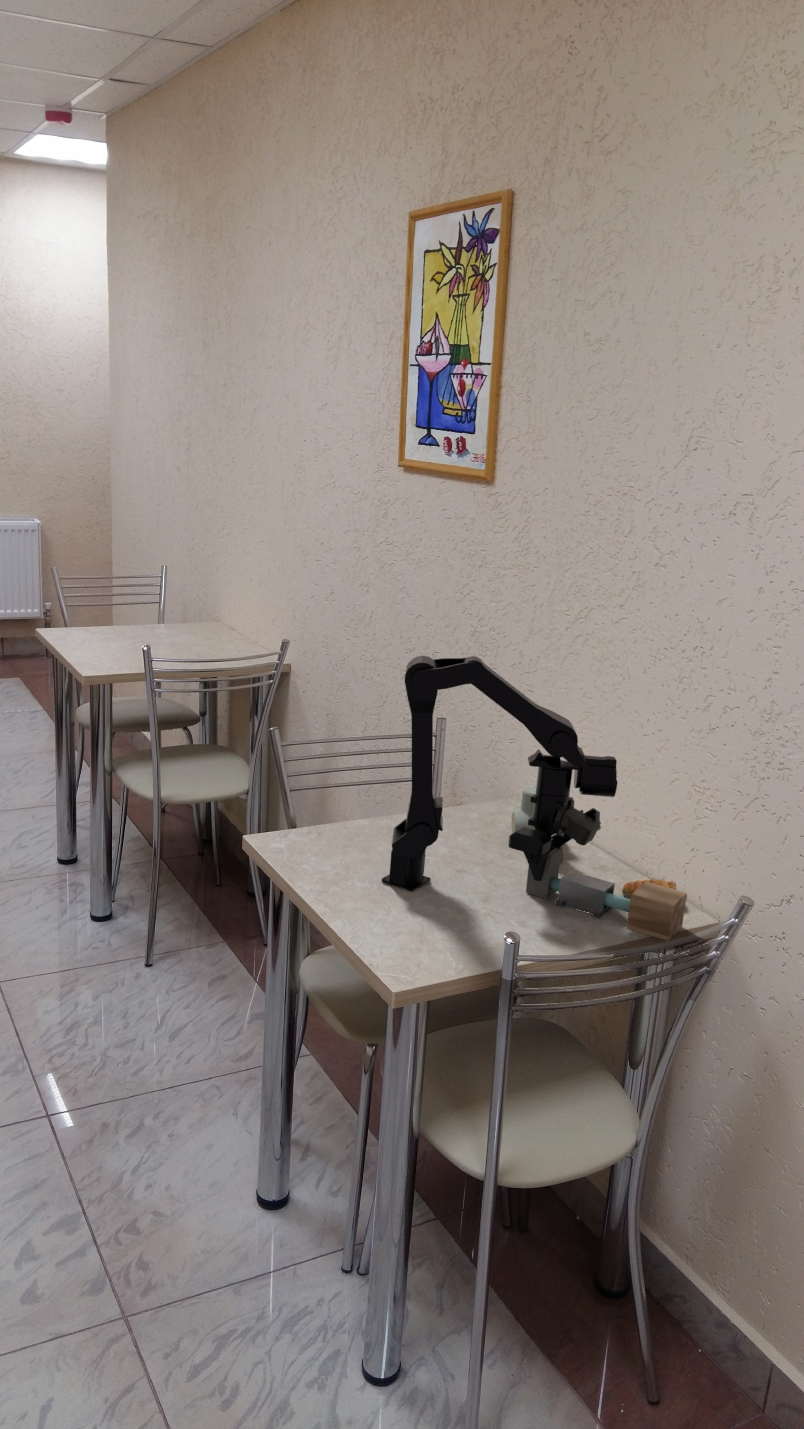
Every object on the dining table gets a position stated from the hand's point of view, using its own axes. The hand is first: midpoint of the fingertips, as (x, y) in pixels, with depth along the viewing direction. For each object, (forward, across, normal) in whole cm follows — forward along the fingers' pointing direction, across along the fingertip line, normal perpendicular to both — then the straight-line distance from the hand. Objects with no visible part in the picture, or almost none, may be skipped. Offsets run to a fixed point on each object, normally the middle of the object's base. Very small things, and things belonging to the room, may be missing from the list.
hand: (542, 876), depth 192 cm
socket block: (+3, 0, -21) cm, 21 cm away
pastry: (+4, +11, -16) cm, 20 cm away
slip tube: (+3, 0, -10) cm, 10 cm away
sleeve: (+3, 0, -8) cm, 9 cm away
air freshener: (+3, +24, +13) cm, 28 cm away
